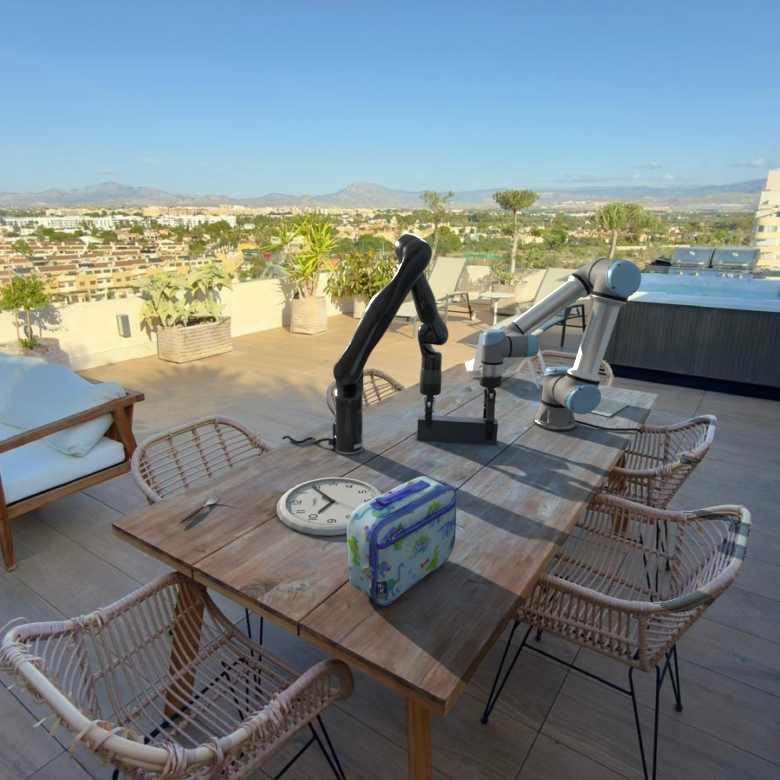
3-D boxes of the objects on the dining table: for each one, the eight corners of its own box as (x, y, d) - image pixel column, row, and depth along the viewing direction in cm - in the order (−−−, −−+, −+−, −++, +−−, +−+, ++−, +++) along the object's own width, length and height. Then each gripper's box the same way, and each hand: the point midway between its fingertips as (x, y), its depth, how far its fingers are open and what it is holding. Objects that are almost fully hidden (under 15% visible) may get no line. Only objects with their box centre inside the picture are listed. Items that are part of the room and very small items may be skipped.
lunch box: (376, 619, 101) (377, 524, 95) (340, 592, 109) (339, 502, 102) (459, 562, 119) (465, 479, 113) (424, 542, 126) (427, 463, 120)
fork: (175, 524, 132) (174, 517, 132) (215, 495, 146) (215, 489, 146) (183, 526, 131) (182, 519, 131) (223, 497, 146) (222, 490, 145)
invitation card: (608, 416, 214) (573, 407, 224) (608, 416, 214) (573, 408, 224) (628, 404, 229) (594, 396, 238) (628, 405, 229) (594, 397, 238)
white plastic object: (486, 418, 267) (465, 395, 242) (467, 346, 289) (447, 318, 264) (556, 394, 255) (543, 367, 230) (531, 321, 277) (516, 289, 252)
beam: (495, 439, 189) (496, 418, 187) (496, 445, 184) (498, 423, 182) (418, 434, 192) (418, 414, 190) (417, 440, 188) (417, 419, 185)
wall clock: (392, 527, 129) (268, 531, 127) (391, 533, 130) (269, 537, 127) (383, 473, 158) (282, 475, 155) (383, 478, 158) (282, 480, 156)
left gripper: (421, 374, 190) (419, 416, 195) (418, 385, 177) (416, 430, 182) (441, 375, 189) (439, 417, 194) (441, 386, 176) (438, 431, 181)
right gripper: (478, 365, 192) (475, 419, 199) (481, 384, 169) (478, 445, 175) (499, 365, 191) (495, 420, 198) (505, 385, 168) (500, 446, 174)
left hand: (428, 423), depth 188 cm, fingers open, 8 cm apart
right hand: (487, 432), depth 186 cm, fingers open, 13 cm apart
